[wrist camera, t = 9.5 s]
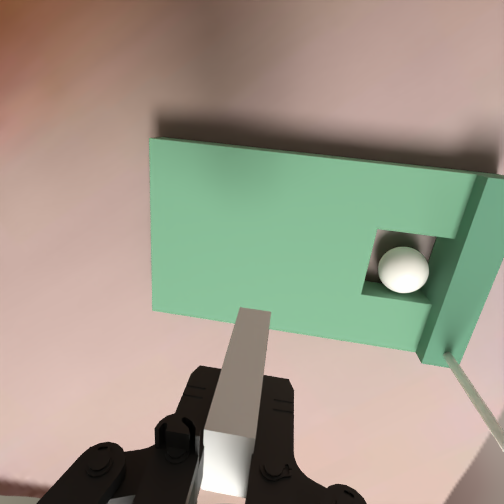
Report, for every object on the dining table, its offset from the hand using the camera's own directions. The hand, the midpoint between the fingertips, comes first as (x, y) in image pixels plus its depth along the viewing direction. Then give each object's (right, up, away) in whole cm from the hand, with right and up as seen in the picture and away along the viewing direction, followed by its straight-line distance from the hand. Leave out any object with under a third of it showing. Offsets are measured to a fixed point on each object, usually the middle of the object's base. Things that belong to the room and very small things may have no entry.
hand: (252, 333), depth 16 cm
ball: (+13, +2, +12) cm, 18 cm away
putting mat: (+5, +5, +15) cm, 16 cm away
